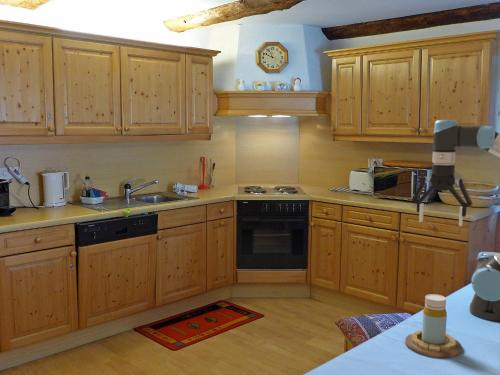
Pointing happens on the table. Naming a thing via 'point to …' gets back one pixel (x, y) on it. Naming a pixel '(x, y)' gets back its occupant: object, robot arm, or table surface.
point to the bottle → (434, 320)
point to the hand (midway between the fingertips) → (440, 223)
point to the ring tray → (433, 354)
